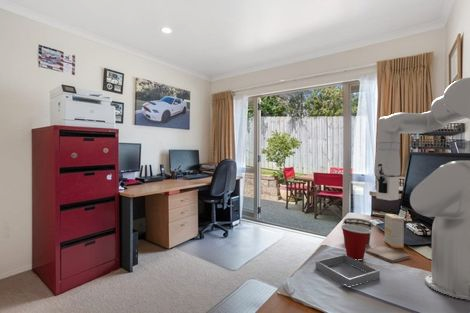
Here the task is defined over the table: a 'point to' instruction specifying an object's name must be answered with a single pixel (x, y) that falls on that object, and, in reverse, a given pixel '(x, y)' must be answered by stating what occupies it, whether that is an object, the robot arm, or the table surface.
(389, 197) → the carton
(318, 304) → the table surface
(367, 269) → the bin
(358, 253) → the plastic cup
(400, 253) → the beige square coaster
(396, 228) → the supplement box
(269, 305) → the table surface
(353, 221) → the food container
